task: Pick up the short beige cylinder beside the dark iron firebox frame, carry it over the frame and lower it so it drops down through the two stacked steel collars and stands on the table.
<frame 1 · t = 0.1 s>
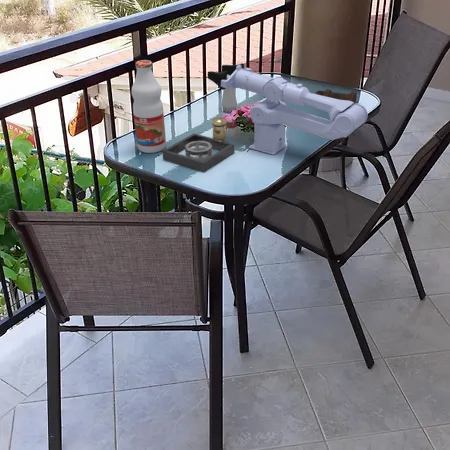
hand: (215, 71, 188), 22 cm above the table, tool horizontal, fingers open, 7 cm apart
beige cylinder: (219, 139, 196), on the table
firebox: (199, 156, 186), on the table
bolt: (334, 103, 223), on the table
fruit juice: (151, 148, 192), on the table
salt shaker: (229, 110, 218), on the table
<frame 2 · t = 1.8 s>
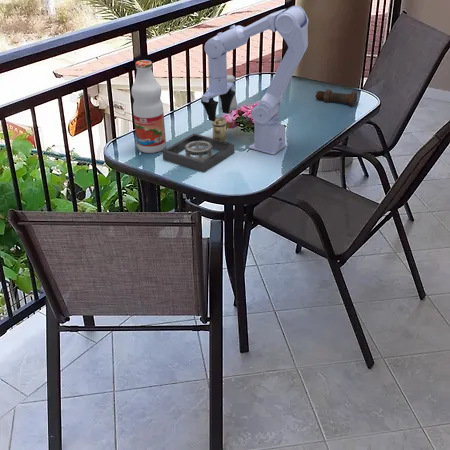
hand: (218, 116, 192), 8 cm above the table, tool pointing down, fingers open, 7 cm apart
nothing on the table moved.
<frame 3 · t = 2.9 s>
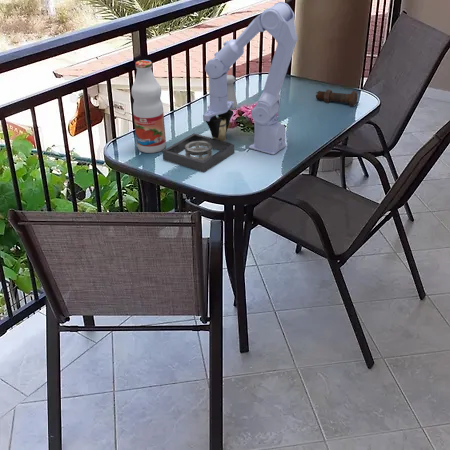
hand: (219, 134, 195), 2 cm above the table, tool pointing down, fingers closed on beige cylinder, 4 cm apart
beige cylinder: (219, 139, 196), on the table, touching gripper
everything else where it was.
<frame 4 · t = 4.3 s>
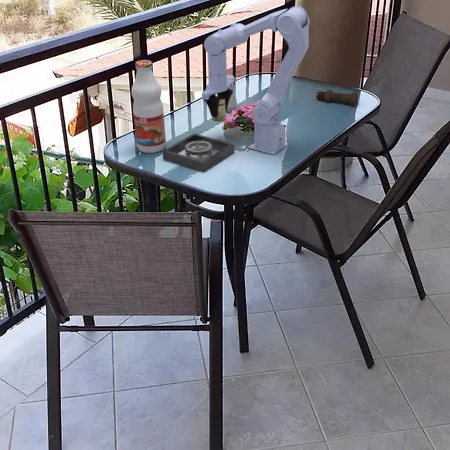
hand: (218, 114, 191), 9 cm above the table, tool pointing down, fingers closed on beige cylinder, 4 cm apart
beige cylinder: (218, 119, 192), point 7 cm above the table, touching gripper
everything else where it was.
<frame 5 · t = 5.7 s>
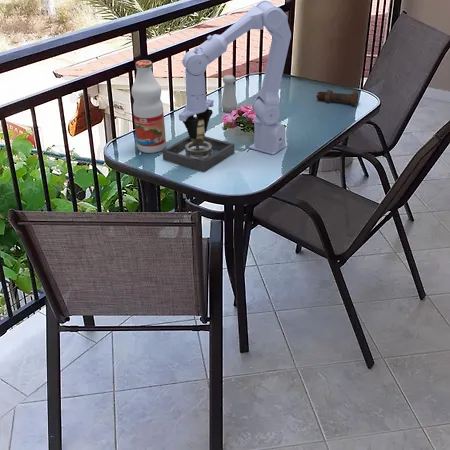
hand: (197, 135, 182), 7 cm above the table, tool pointing down, fingers closed on beige cylinder, 4 cm apart
beige cylinder: (197, 140, 183), point 5 cm above the table, touching gripper
everything else where it was.
when the fingers open (4 cm above the table, at t = 6.8 s): beige cylinder drops 2 cm, resting in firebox.
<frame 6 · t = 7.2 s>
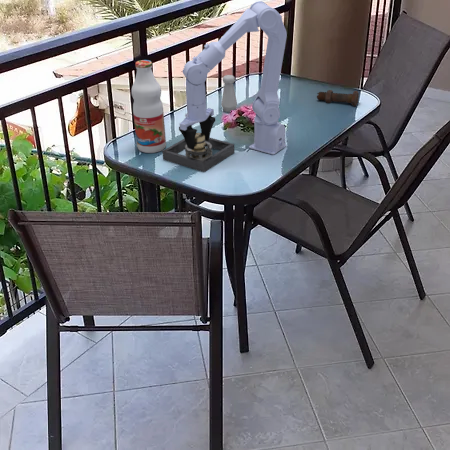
hand: (198, 143, 183), 4 cm above the table, tool pointing down, fingers open, 7 cm apart
beige cylinder: (198, 156, 186), resting in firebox
everything else where it was.
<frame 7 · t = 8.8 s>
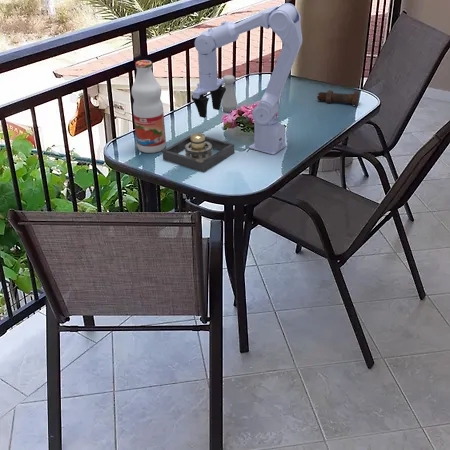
hand: (209, 113, 191), 9 cm above the table, tool pointing down, fingers open, 7 cm apart
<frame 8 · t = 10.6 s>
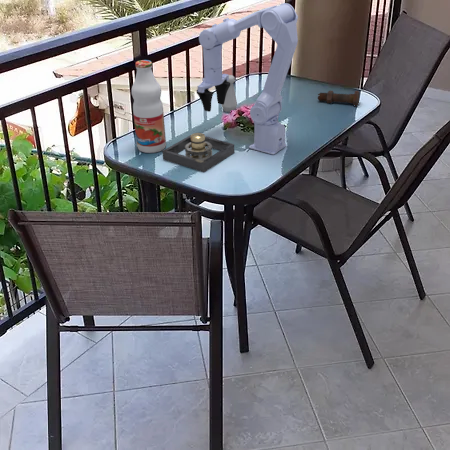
hand: (214, 107, 195), 9 cm above the table, tool pointing down, fingers open, 7 cm apart
at the end: beige cylinder 0.1 cm from the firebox (horizontally); beige cylinder resting in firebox; beige cylinder tilted 0° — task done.
